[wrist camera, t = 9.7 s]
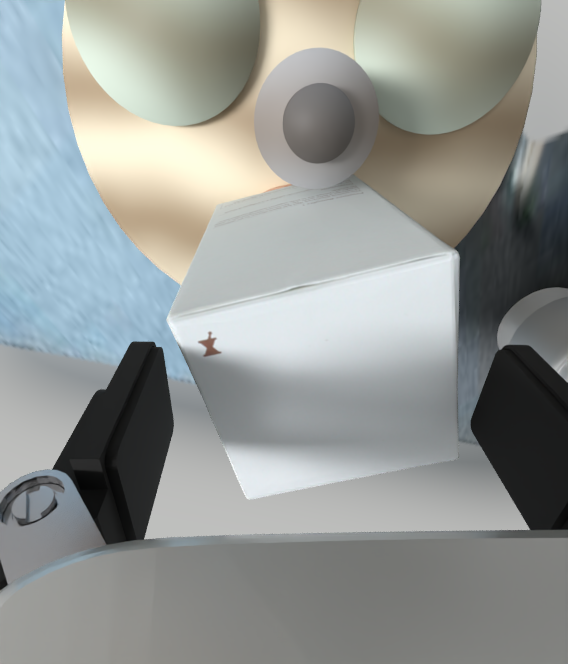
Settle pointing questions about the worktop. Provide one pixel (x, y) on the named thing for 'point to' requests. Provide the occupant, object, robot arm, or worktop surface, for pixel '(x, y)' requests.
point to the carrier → (294, 106)
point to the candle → (540, 326)
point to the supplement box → (322, 337)
